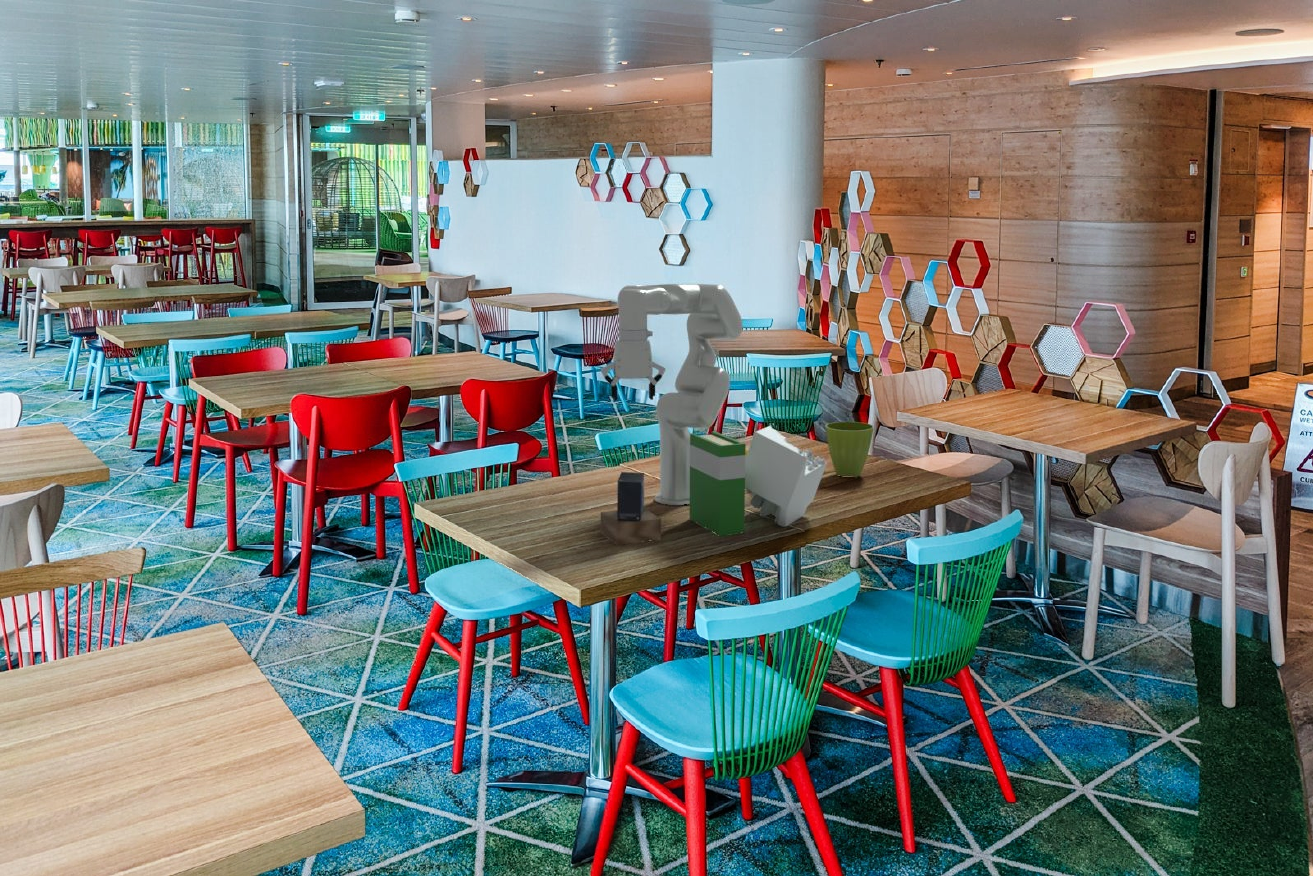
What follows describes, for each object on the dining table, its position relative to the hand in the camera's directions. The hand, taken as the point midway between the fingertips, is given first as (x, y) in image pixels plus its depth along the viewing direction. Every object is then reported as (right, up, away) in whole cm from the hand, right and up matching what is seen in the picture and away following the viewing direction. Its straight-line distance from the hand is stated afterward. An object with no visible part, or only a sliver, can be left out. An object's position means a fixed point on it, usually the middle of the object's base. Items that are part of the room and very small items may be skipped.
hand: (633, 399), depth 310 cm
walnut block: (-1, -36, -9) cm, 37 cm away
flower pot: (+67, -22, +57) cm, 91 cm away
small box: (0, -31, -11) cm, 32 cm away
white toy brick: (+41, -33, +6) cm, 53 cm away
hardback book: (+22, -34, 0) cm, 41 cm away
